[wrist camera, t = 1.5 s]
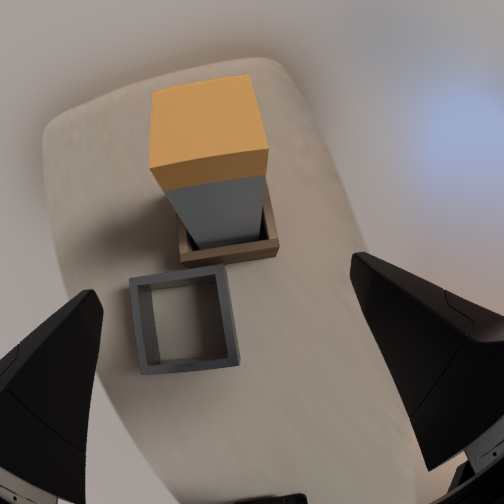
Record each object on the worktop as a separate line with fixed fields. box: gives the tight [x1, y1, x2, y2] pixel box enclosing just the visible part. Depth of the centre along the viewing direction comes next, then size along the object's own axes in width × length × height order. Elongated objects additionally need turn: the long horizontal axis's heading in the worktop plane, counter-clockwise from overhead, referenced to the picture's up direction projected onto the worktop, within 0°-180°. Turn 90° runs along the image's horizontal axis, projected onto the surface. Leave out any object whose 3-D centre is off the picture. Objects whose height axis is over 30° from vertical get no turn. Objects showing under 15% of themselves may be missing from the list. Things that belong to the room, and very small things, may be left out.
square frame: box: [176, 178, 280, 269], centre depth 21 cm, size 7×7×3 cm
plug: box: [149, 75, 269, 250], centre depth 17 cm, size 4×4×13 cm
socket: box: [129, 264, 241, 375], centre depth 19 cm, size 7×7×3 cm
